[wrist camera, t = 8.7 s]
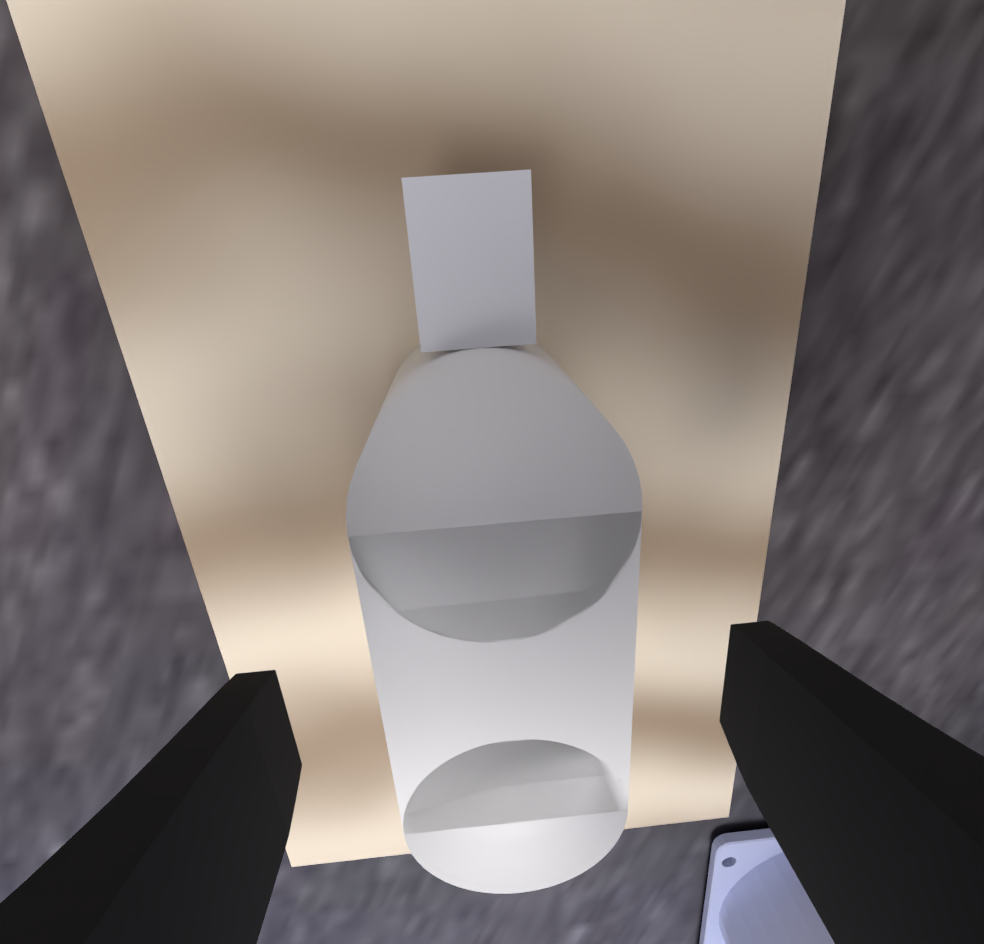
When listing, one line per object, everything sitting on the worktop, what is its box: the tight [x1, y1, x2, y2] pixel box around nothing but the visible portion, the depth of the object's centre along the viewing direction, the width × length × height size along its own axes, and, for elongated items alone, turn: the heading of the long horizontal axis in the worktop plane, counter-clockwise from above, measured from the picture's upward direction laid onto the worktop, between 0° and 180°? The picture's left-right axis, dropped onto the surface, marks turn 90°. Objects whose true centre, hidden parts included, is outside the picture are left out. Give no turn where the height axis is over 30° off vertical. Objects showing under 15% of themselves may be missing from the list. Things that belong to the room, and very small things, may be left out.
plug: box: [346, 170, 642, 894], centre depth 10 cm, size 12×4×5 cm, turn 4°
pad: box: [6, 0, 846, 867], centre depth 14 cm, size 22×14×1 cm, turn 4°
